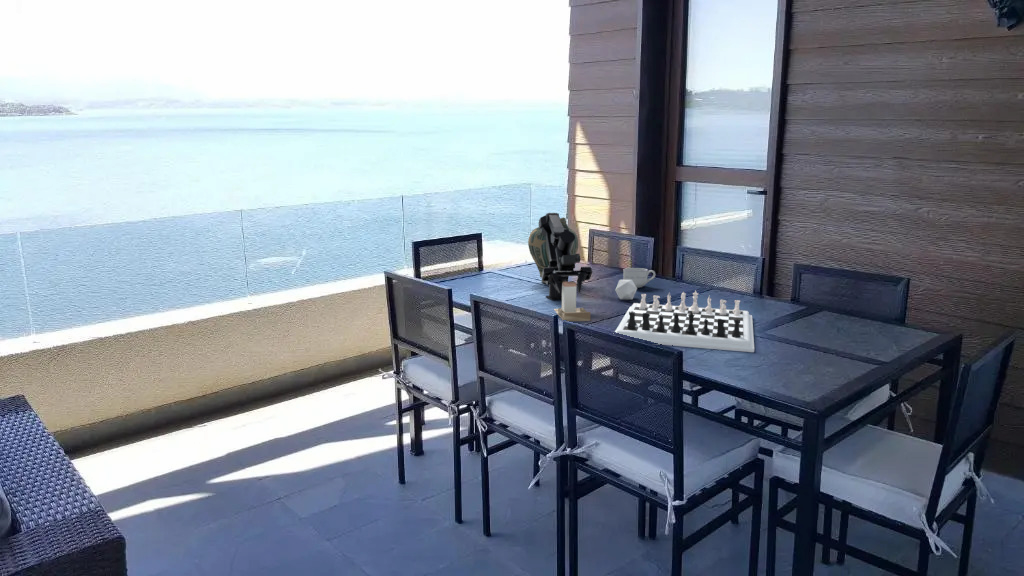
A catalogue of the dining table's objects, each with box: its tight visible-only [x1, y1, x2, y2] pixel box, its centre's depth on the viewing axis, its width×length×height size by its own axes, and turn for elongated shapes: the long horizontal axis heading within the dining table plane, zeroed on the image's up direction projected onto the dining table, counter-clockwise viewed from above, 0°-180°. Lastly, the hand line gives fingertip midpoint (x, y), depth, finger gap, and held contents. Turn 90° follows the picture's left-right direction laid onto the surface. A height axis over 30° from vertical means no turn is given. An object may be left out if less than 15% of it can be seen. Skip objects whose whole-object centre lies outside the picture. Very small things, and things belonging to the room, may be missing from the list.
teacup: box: [622, 267, 656, 289], centre depth 331 cm, size 14×11×8 cm
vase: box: [527, 217, 579, 284], centre depth 337 cm, size 22×22×30 cm
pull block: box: [561, 281, 577, 313], centre depth 284 cm, size 4×4×11 cm
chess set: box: [614, 290, 755, 353], centre depth 263 cm, size 45×45×11 cm
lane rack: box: [553, 307, 592, 322], centre depth 280 cm, size 19×10×4 cm, turn 8°
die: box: [614, 279, 638, 300], centre depth 308 cm, size 8×9×10 cm
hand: (569, 292), depth 282 cm, fingers open, 7 cm apart
